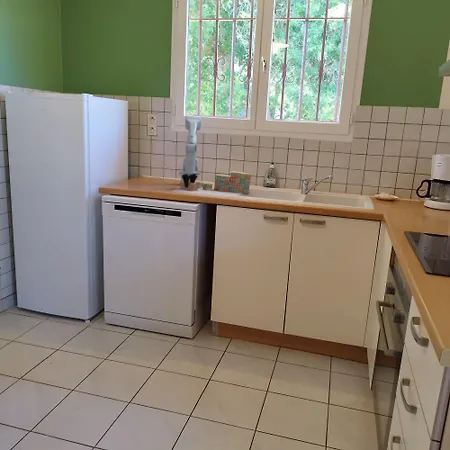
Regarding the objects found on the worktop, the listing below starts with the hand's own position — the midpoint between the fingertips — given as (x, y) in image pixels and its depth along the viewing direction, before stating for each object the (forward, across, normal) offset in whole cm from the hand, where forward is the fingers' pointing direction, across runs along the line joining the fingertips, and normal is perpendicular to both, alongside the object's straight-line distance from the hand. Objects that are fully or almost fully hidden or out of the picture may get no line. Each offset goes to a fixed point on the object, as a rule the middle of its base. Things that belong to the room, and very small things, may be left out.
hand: (188, 187), depth 258 cm
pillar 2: (+1, +12, -4) cm, 13 cm away
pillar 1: (+1, +12, +4) cm, 13 cm away
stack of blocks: (+2, +23, -14) cm, 27 cm away
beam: (+1, 0, 0) cm, 1 cm away
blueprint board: (+2, +8, 0) cm, 8 cm away
